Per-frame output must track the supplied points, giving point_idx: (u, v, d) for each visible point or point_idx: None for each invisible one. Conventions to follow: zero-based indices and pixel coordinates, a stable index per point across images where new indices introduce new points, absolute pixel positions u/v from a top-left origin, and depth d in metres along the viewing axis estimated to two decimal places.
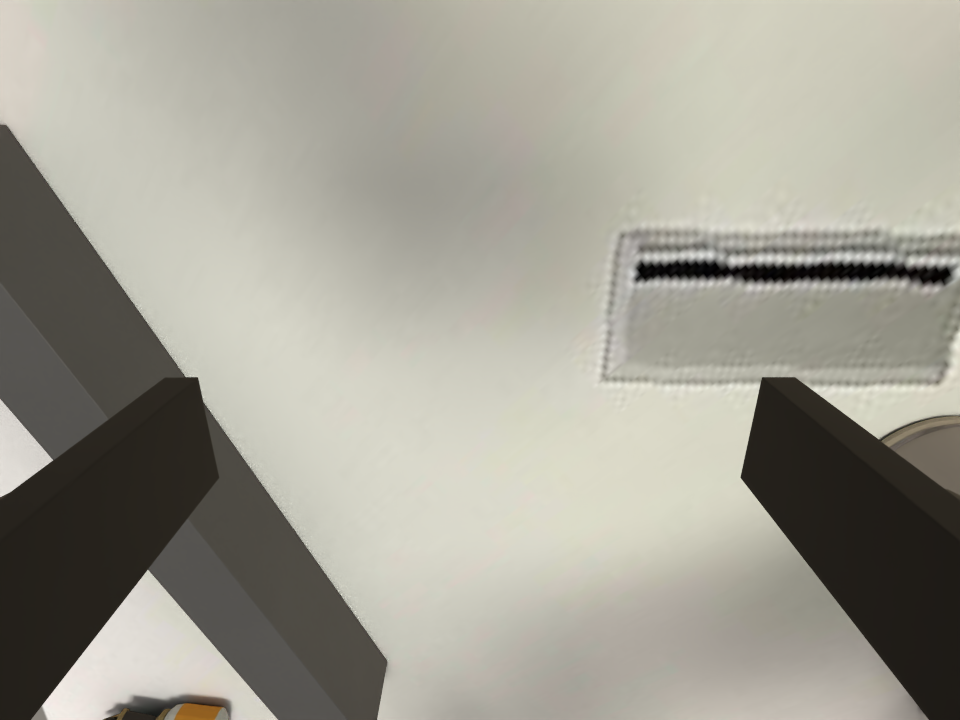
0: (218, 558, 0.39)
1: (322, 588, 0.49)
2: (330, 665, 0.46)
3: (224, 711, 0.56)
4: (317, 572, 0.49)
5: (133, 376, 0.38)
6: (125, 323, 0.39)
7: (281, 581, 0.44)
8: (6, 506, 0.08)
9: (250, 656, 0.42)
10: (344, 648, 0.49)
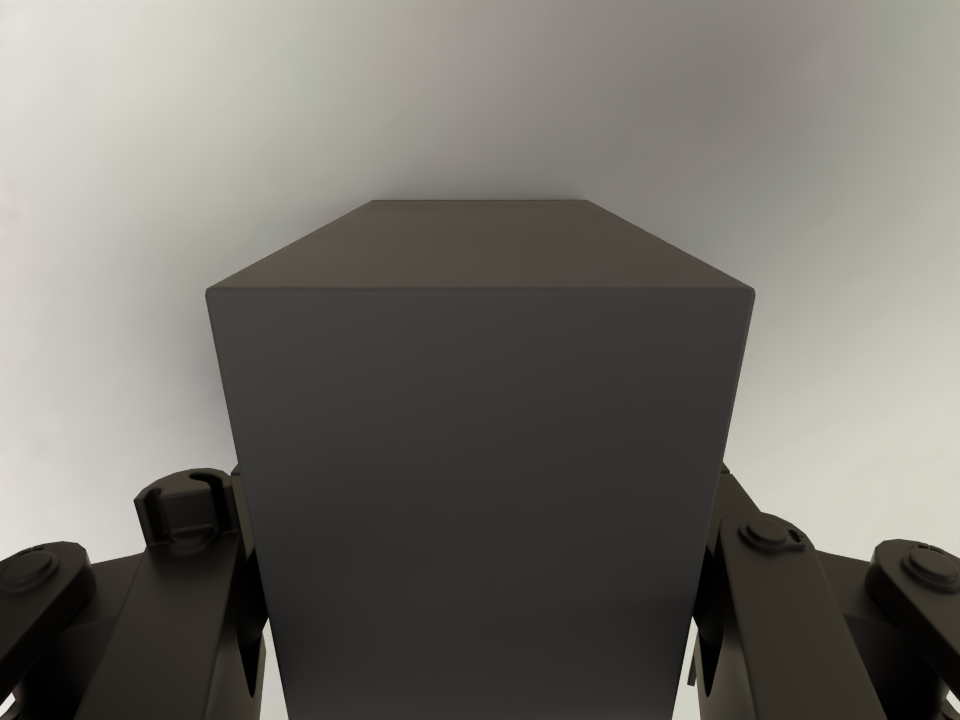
0: None
1: None
2: None
3: None
4: None
5: None
6: None
7: None
8: None
9: None
10: None
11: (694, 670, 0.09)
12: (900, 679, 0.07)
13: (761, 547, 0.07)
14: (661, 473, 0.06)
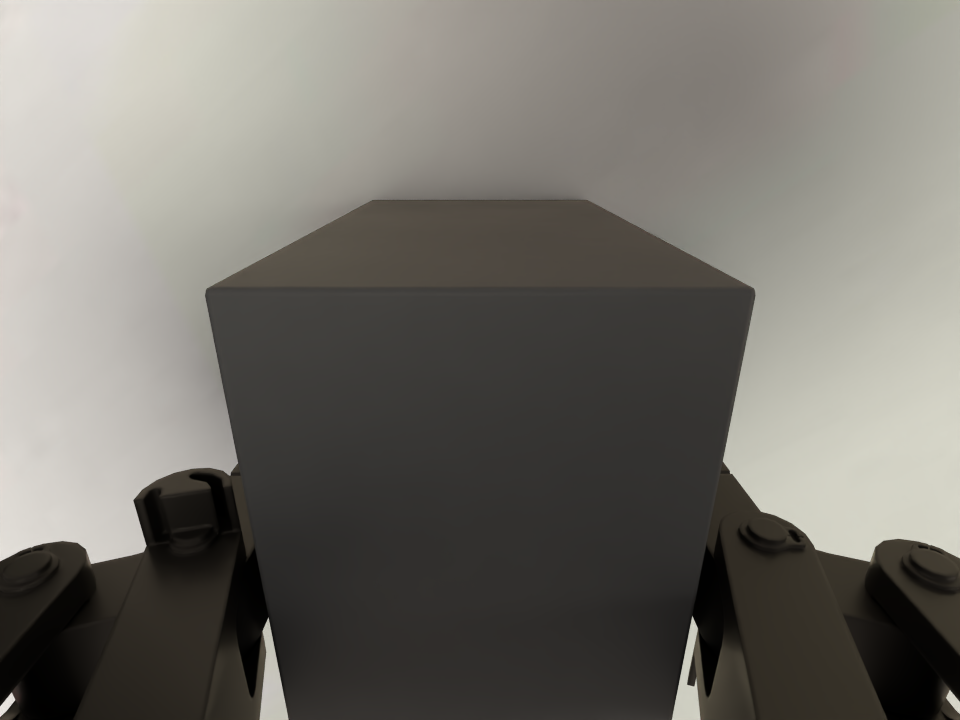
0: None
1: None
2: None
3: None
4: None
5: None
6: None
7: None
8: None
9: None
10: None
11: (694, 670, 0.09)
12: (900, 679, 0.07)
13: (761, 547, 0.07)
14: (661, 473, 0.06)
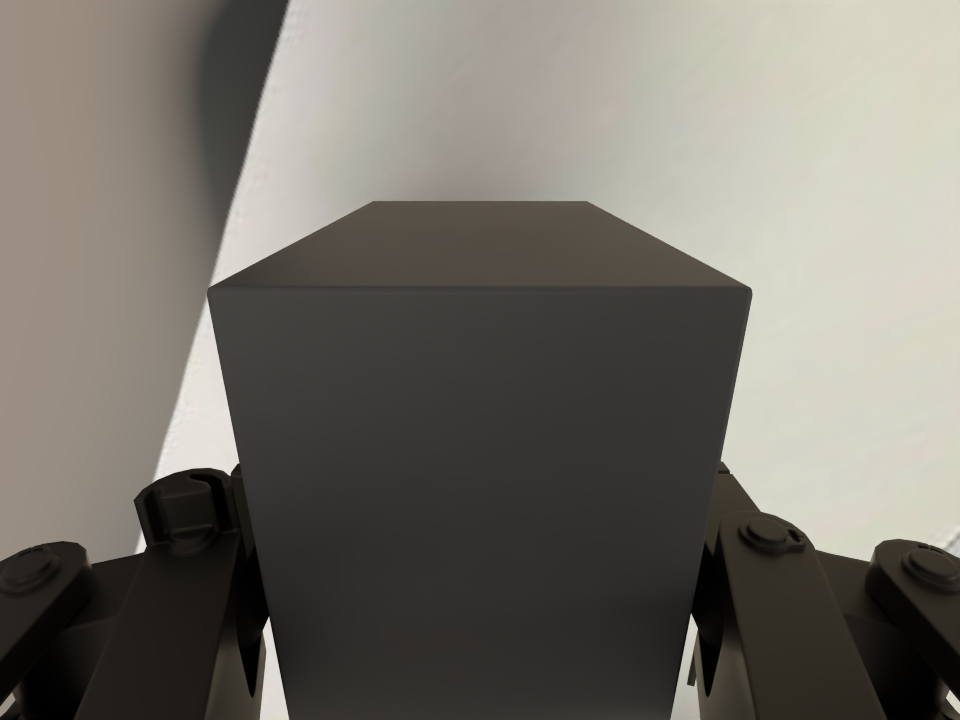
0: None
1: None
2: None
3: None
4: None
5: None
6: None
7: None
8: None
9: None
10: None
11: (694, 670, 0.09)
12: (900, 679, 0.07)
13: (761, 548, 0.07)
14: (659, 471, 0.06)
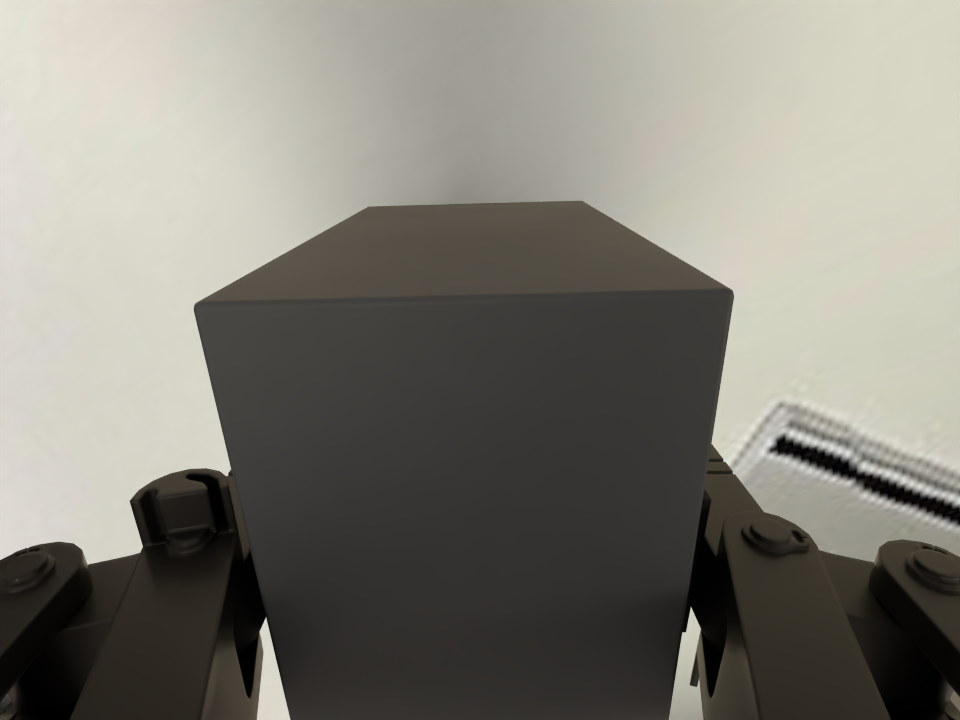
0: None
1: None
2: None
3: None
4: None
5: None
6: None
7: None
8: None
9: None
10: None
11: (697, 671, 0.09)
12: (904, 680, 0.07)
13: (765, 548, 0.07)
14: (647, 474, 0.06)
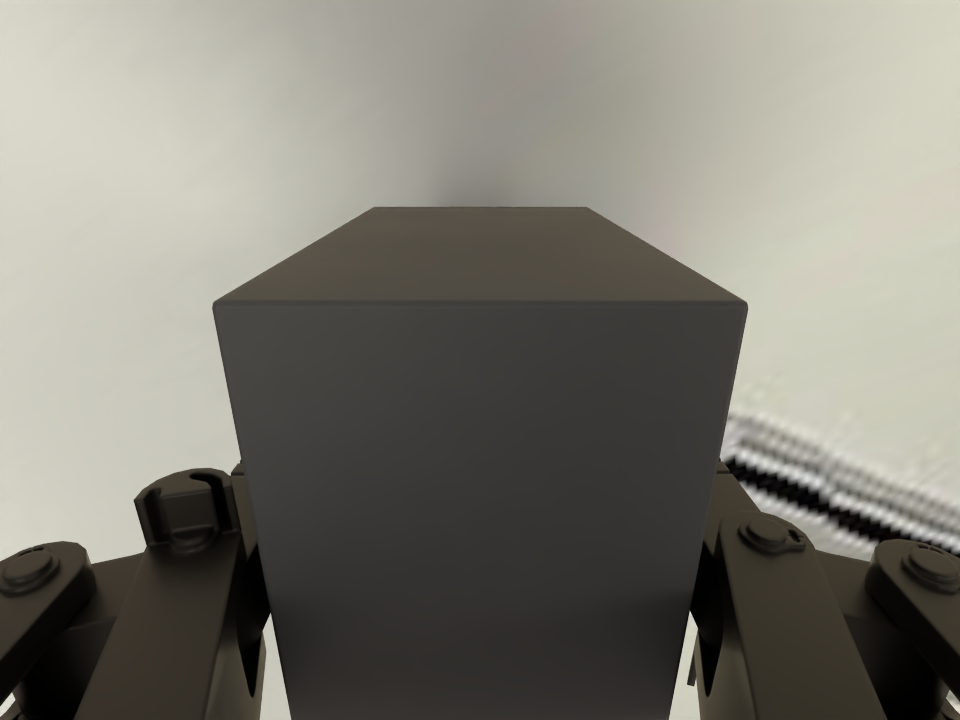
0: None
1: None
2: None
3: None
4: None
5: None
6: None
7: None
8: None
9: None
10: None
11: (694, 670, 0.09)
12: (900, 679, 0.07)
13: (761, 547, 0.07)
14: (657, 481, 0.06)
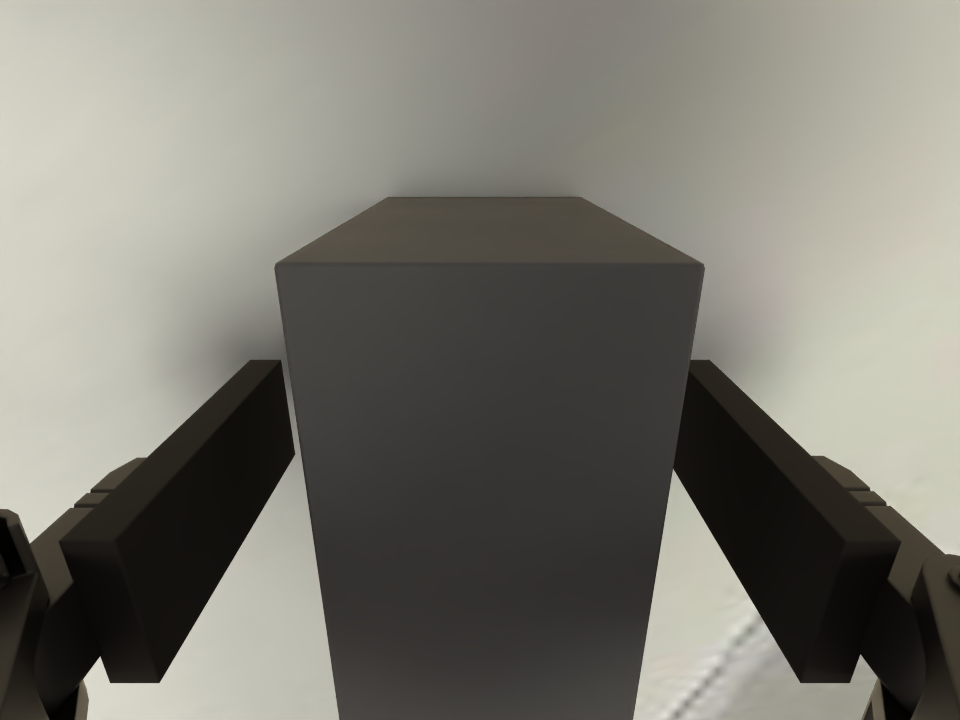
0: None
1: None
2: None
3: None
4: None
5: None
6: None
7: None
8: (151, 466, 0.09)
9: None
10: None
11: None
12: None
13: None
14: (633, 414, 0.07)
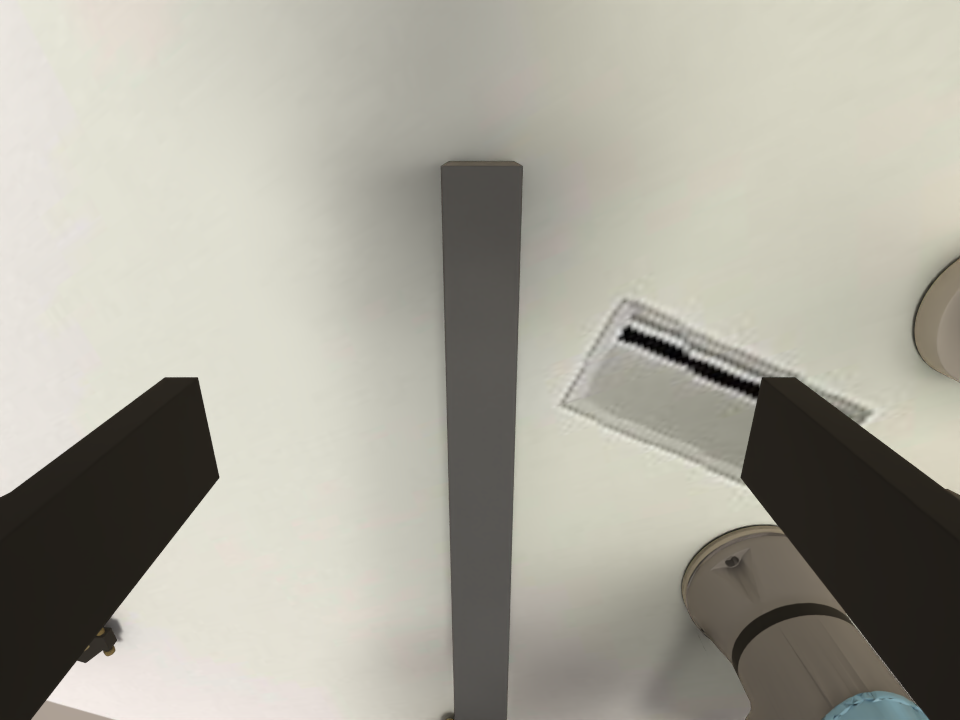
0: (511, 550, 0.47)
1: None
2: None
3: None
4: None
5: None
6: None
7: None
8: (6, 506, 0.08)
9: (473, 629, 0.50)
10: None
11: None
12: None
13: None
14: (511, 198, 0.36)
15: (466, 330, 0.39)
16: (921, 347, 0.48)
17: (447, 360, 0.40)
